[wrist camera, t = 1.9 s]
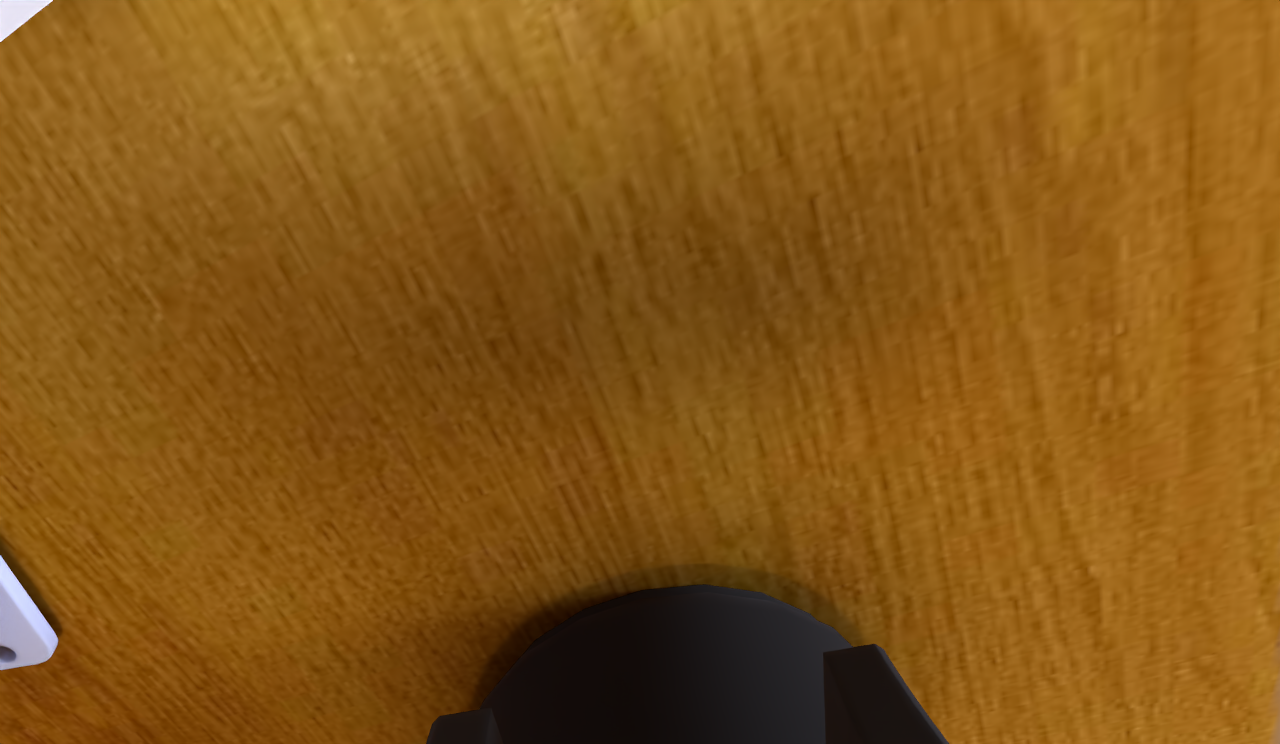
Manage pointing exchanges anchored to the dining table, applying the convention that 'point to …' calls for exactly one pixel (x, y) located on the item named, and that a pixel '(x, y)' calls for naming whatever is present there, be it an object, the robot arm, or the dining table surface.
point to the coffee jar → (671, 673)
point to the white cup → (17, 14)
